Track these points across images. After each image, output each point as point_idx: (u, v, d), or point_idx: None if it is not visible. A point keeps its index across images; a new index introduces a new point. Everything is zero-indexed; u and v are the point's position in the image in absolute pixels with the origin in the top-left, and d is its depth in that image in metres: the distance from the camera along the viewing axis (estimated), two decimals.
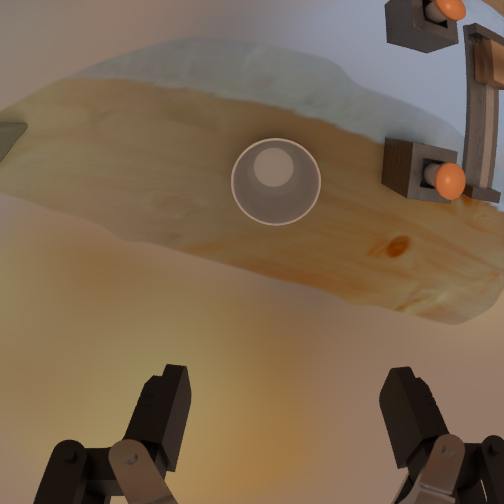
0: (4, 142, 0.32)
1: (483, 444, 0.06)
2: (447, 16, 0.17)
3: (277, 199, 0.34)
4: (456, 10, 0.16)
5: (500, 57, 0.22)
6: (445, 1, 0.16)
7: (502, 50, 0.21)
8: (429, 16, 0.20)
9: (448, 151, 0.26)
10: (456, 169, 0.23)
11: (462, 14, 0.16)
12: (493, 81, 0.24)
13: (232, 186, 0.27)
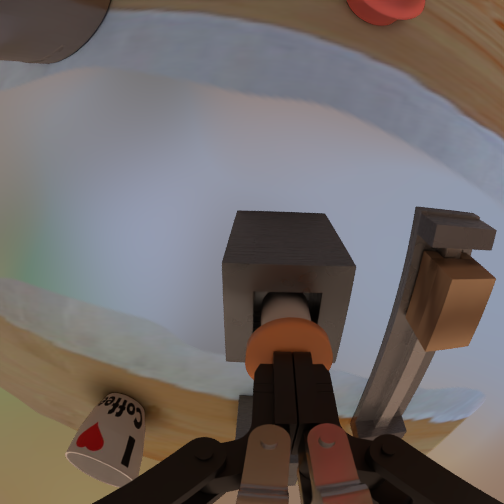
0: None
1: (374, 442, 0.07)
2: None
3: None
4: None
5: (460, 306, 0.17)
6: (269, 363, 0.12)
7: (472, 289, 0.16)
8: None
9: None
10: None
11: None
12: None
13: None
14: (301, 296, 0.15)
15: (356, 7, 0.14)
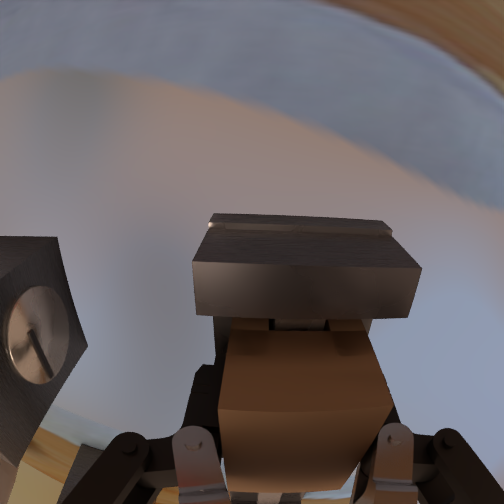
0: None
1: (435, 436, 0.07)
2: None
3: None
4: None
5: (279, 452, 0.07)
6: None
7: (306, 428, 0.07)
8: None
9: None
10: None
11: None
12: None
13: None
14: None
15: None
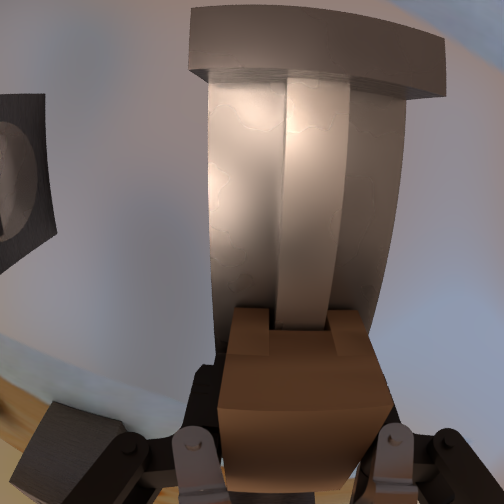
0: None
1: (436, 436, 0.07)
2: None
3: None
4: None
5: (278, 451, 0.07)
6: None
7: (306, 428, 0.07)
8: None
9: None
10: None
11: None
12: None
13: None
14: None
15: None
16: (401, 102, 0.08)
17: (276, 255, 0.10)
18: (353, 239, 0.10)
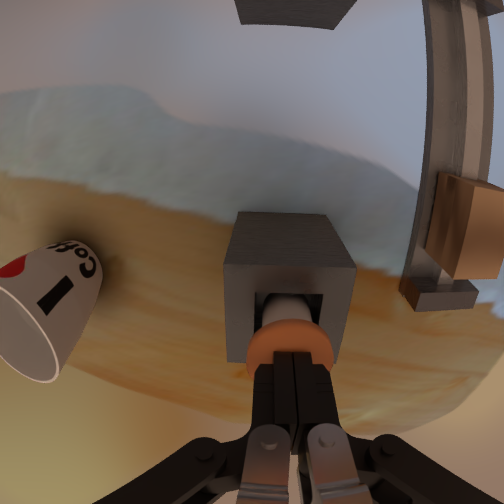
0: None
1: (373, 442, 0.07)
2: None
3: None
4: None
5: (486, 223, 0.14)
6: None
7: (496, 203, 0.14)
8: None
9: (328, 270, 0.13)
10: (303, 341, 0.11)
11: None
12: None
13: None
14: None
15: None
16: (486, 16, 0.12)
17: (456, 59, 0.14)
18: None
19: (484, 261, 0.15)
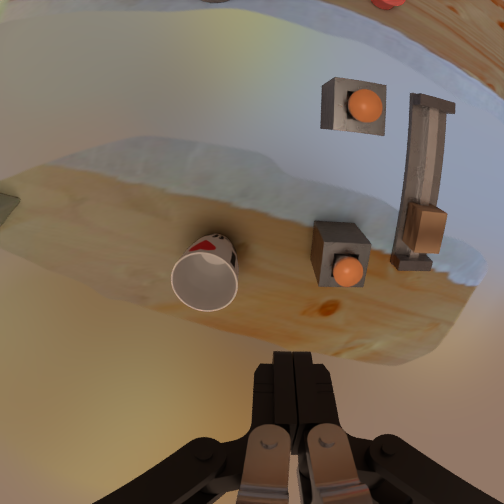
0: (2, 215, 0.41)
1: (373, 442, 0.07)
2: (359, 120, 0.28)
3: (216, 279, 0.43)
4: (370, 112, 0.27)
5: (429, 226, 0.36)
6: (359, 104, 0.27)
7: (434, 218, 0.36)
8: (349, 113, 0.31)
9: (361, 245, 0.35)
10: (353, 263, 0.34)
11: (377, 114, 0.27)
12: None
13: (172, 284, 0.36)
14: None
15: (374, 0, 0.28)
16: (445, 114, 0.34)
17: (423, 144, 0.36)
18: (437, 142, 0.36)
19: (430, 244, 0.37)
